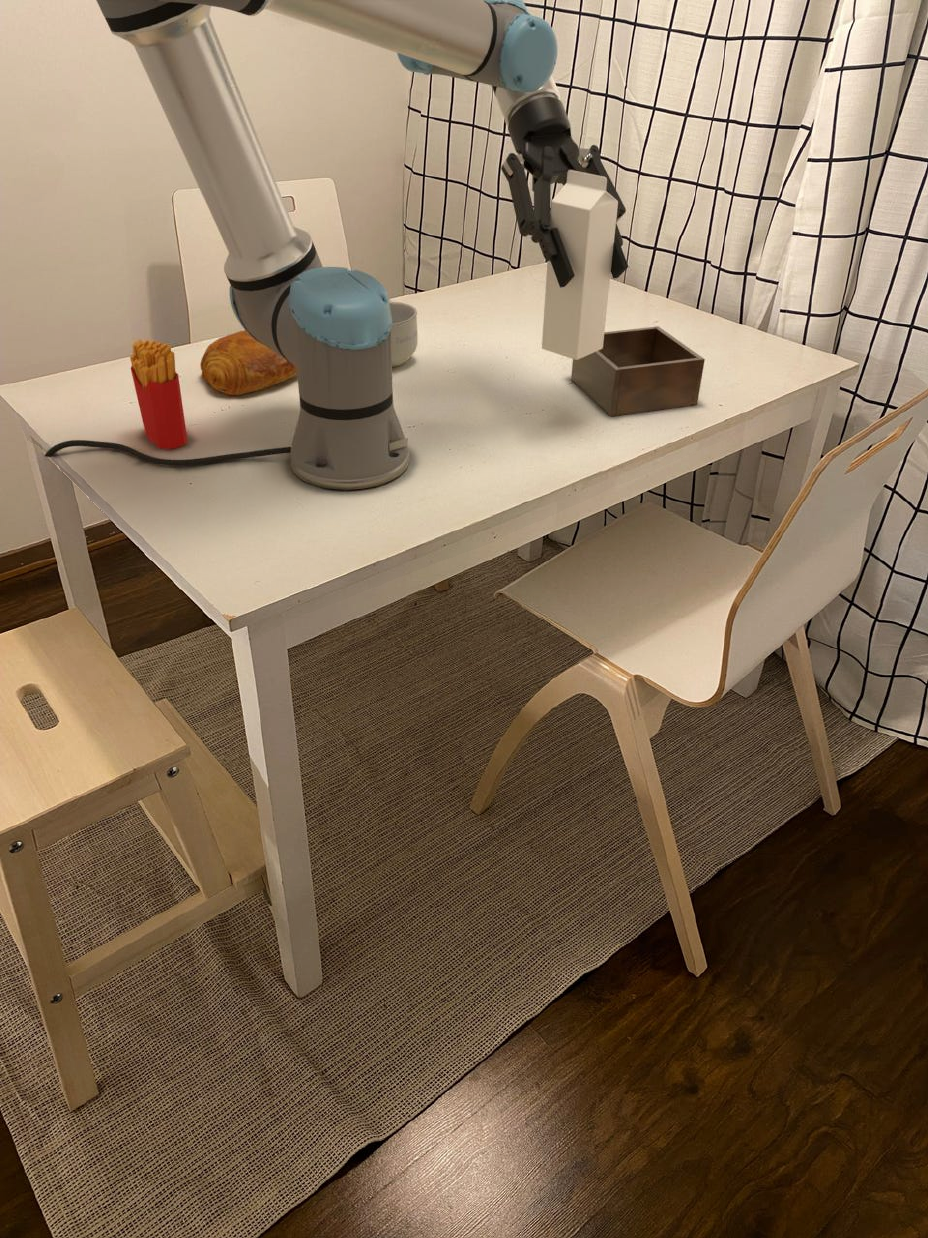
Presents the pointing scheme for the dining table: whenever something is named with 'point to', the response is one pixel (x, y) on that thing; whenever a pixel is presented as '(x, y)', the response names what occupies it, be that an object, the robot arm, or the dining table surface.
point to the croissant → (243, 365)
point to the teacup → (403, 331)
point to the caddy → (640, 372)
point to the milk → (580, 266)
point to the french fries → (158, 393)
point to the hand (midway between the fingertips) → (594, 276)
